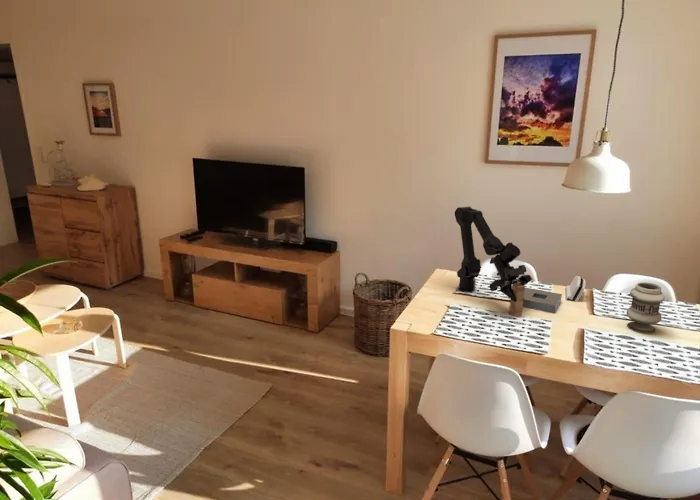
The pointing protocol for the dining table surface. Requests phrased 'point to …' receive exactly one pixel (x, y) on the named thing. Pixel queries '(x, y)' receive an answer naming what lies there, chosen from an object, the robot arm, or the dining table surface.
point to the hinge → (575, 289)
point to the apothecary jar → (645, 307)
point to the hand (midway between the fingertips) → (519, 301)
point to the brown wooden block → (517, 306)
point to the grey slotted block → (541, 300)
